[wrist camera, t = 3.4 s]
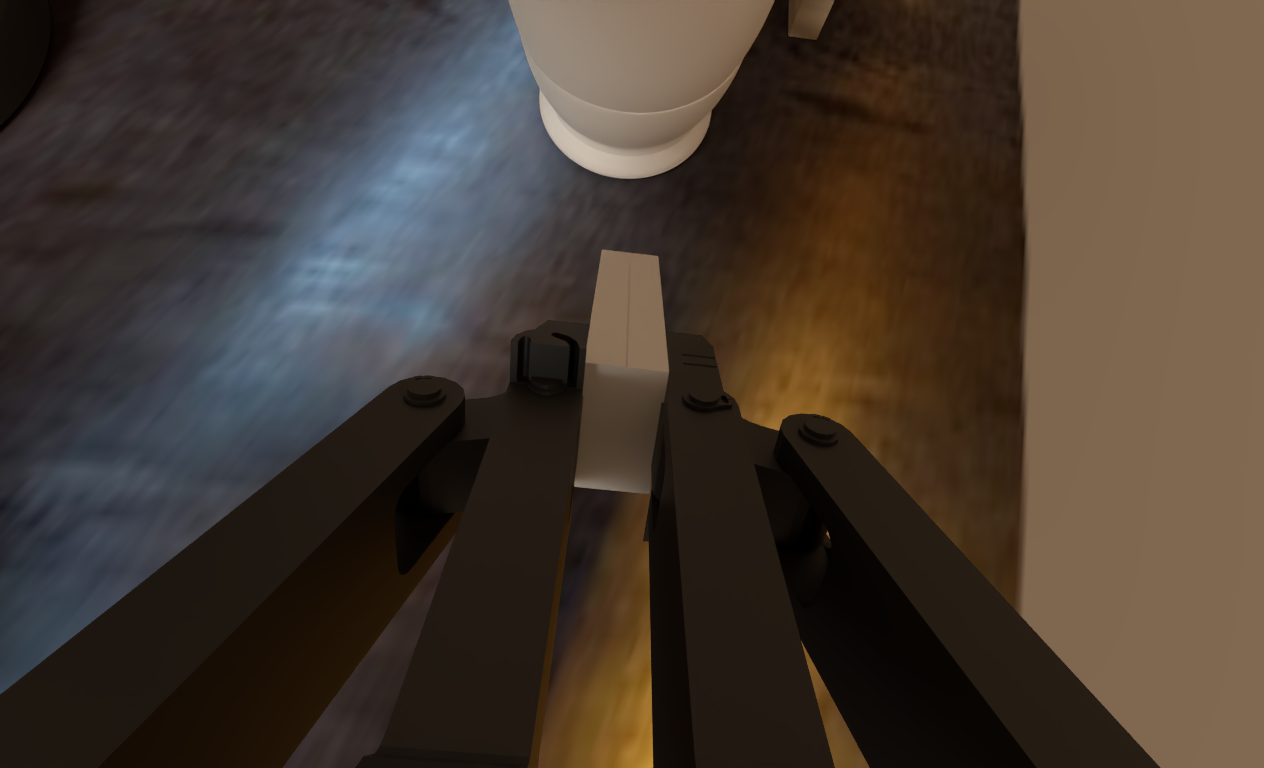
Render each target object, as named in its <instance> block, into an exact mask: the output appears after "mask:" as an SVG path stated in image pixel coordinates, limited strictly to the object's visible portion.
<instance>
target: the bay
mask: <svg viewBox="0 0 1264 768" xmlns="http://www.w3.org/2000/svg"><path fill="white" fill-rule="evenodd" d="M834 1H835V0H789V21H788V36H791V37H798V38H806V39H813V40H817V38H818V36H819V33H820V31H821V29H822V27H823V25H824V22H825V20H826V18H827V16H828V14H829V12H830V9H831V7H832V5H833V3H834Z"/></svg>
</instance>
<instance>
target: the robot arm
mask: <svg viewBox="0 0 1264 768" xmlns="http://www.w3.org/2000/svg"><path fill="white" fill-rule="evenodd" d="M50 29H51V22H50V12H49V6H48V2H47V0H0V126H1V125H2V124H3V123H4V122H5V121H6V120H7V119H8V118H9V117H10V115H11V114H12V113H13V112H14V111H15V110H16V109H17V108H18V106H19V105H20V104H21V102H22V101H23V100H24V99H25V97H26V96H27V94H28V93H29V91H30V90H31V88H32V86H33V85H34V83H35V81H36V79H37V78H38V75H39V73H40V71H41V69H42V66H43V64H44V61H45V58H46V54H47V50H48V47H49V40H50ZM651 478H652V491H651V497H650V503H649V509H648V515H647V521H646V527H645V533H644V539H643V541H649V573H650V623H651V673H652V723H653V768H835V767H834V763H833V759H832V755H831V752H830V748H829V744H828V740H827V737H826V733H825V729H824V725H823V722H822V718H821V714H820V710H819V707H818V703H817V699H816V695H815V692H814V688H813V684H812V680H811V677H810V673H809V669H808V665H807V661H806V658H805V654H804V650H803V646H802V643H803V645H804V647H805V648H806V650H807V652H808V654H809V656H810V658H811V660H812V661H813V663H814V665H815V667H816V669H817V671H818V673H819V674H820V676H821V678H822V680H823V682H824V684H825V685H826V687H827V689H828V691H829V693H830V695H831V697H832V698H833V700H834V702H835V704H836V706H837V708H838V710H839V711H840V713H841V715H842V717H843V719H844V721H845V722H846V724H847V726H848V728H849V730H850V732H851V734H852V735H853V737H854V739H855V741H856V743H857V745H858V747H859V748H860V750H861V752H862V754H863V756H864V758H865V760H866V761H867V763H868V765H869V767H870V768H1160V767H1159V766H1158V765H1157V764H1156V763H1155V761H1154V760H1153V759H1152V758H1151V757H1150V756H1149V755H1148V754H1147V753H1146V752H1145V751H1144V749H1143V748H1142V747H1141V746H1140V745H1139V744H1138V743H1137V742H1136V741H1135V740H1134V739H1133V738H1132V737H1131V735H1130V734H1129V733H1128V732H1127V731H1126V730H1125V729H1124V728H1123V727H1122V726H1121V725H1120V724H1119V722H1118V721H1117V720H1116V719H1115V718H1114V717H1113V716H1112V715H1111V714H1110V713H1109V711H1108V710H1107V709H1106V708H1105V707H1104V706H1103V705H1102V704H1101V703H1100V702H1099V701H1098V700H1097V698H1096V697H1095V696H1094V695H1093V694H1092V693H1091V692H1090V691H1089V690H1088V689H1087V688H1086V687H1085V685H1084V684H1083V683H1082V682H1081V681H1080V680H1079V679H1078V678H1077V677H1076V676H1075V675H1074V674H1073V672H1072V671H1071V670H1070V669H1069V668H1068V667H1067V666H1066V665H1065V664H1064V663H1063V662H1062V661H1061V659H1060V658H1059V657H1058V656H1057V655H1056V654H1055V653H1054V652H1053V651H1052V650H1051V649H1050V647H1049V646H1048V645H1047V644H1046V643H1045V642H1044V641H1043V640H1042V639H1041V638H1040V637H1039V636H1038V634H1037V633H1036V632H1035V631H1034V630H1033V629H1032V628H1031V627H1030V626H1029V625H1028V624H1027V622H1026V621H1025V620H1024V619H1023V618H1022V617H1021V616H1020V615H1019V614H1018V613H1017V612H1016V611H1015V609H1014V608H1013V607H1012V606H1011V605H1010V604H1009V603H1008V602H1007V601H1006V600H1005V599H1004V598H1003V596H1002V595H1001V594H1000V593H999V592H998V591H997V590H996V589H995V588H994V587H993V586H992V584H991V583H990V582H989V581H988V580H987V579H986V578H985V577H984V576H983V575H982V574H981V573H980V571H979V570H978V569H977V568H976V567H975V566H974V565H973V564H972V563H971V562H970V561H969V560H968V558H967V557H966V556H965V555H964V554H963V553H962V552H961V551H960V550H959V549H958V548H957V546H956V545H955V544H954V543H953V542H952V541H951V540H950V539H949V538H948V537H947V536H946V535H945V533H944V532H943V531H942V530H941V529H940V528H939V527H938V526H937V525H936V524H935V523H934V522H933V520H932V519H931V518H930V517H929V516H928V515H927V514H926V513H925V512H924V511H923V510H922V509H921V507H920V506H919V505H918V504H917V503H916V502H915V501H914V500H913V499H912V498H911V497H910V495H909V494H908V493H907V492H906V491H905V490H904V489H903V488H902V487H901V486H900V485H899V484H898V482H897V481H896V480H895V479H894V478H893V477H892V476H891V475H890V474H889V473H888V472H887V471H886V469H885V468H884V467H883V466H882V465H881V464H880V463H879V462H878V461H877V460H876V459H875V458H874V456H873V455H872V454H871V453H870V452H869V451H868V450H867V449H866V448H865V447H864V446H863V444H862V443H861V442H860V441H859V440H858V439H857V438H856V437H855V436H854V435H853V434H852V433H851V432H850V431H849V430H848V429H846V428H845V427H844V426H843V425H841V424H839V423H837V422H835V421H833V420H831V419H830V418H828V417H824V416H822V417H821V415H816V414H795V415H790V416H788V417H787V418H785V419H783V420H782V424H781V427H780V430H779V431H777V430H774V429H770V428H767V427H763V426H760V425H757V424H754V423H751V422H749V421H747V420H745V419H743V418H742V417H741V413H740V410H739V406H738V404H737V403H736V401H735V399H734V398H733V397H731V396H730V395H729V394H727V393H726V392H724V391H723V387H722V383H721V379H720V375H719V370H718V368H717V362H716V359H715V354H714V350H713V346H712V345H711V344H710V343H709V342H708V341H707V340H706V339H705V338H704V337H702V336H701V335H692V334H683V333H674V332H666V331H665V323H664V313H663V302H662V292H661V281H660V271H659V260H658V256H653V255H644V254H636V253H627V252H619V251H610V250H602V252H601V258H600V265H599V271H598V277H597V284H596V290H595V296H594V303H593V309H592V315H591V322H590V325H588V324H579V323H570V322H561V321H552V320H548V321H546V322H545V323H543V324H542V325H540V326H539V327H537V328H536V329H535V330H528V331H524V332H522V333H520V334H517V335H516V336H515V337H514V338H513V339H512V340H511V358H510V383H509V386H508V388H507V391H506V392H505V393H503V394H501V395H497V396H493V397H488V398H481V399H467V400H465V394H464V390H463V388H462V387H461V386H460V385H458V384H457V383H456V382H454V381H451V380H448V379H446V378H441V377H434V376H415V377H412V378H408V379H404V380H401V381H399V382H397V383H395V384H393V385H391V386H389V387H388V388H387V389H386V390H384V391H383V392H382V393H381V394H379V395H378V396H377V397H376V398H374V399H373V400H372V401H371V402H369V403H368V404H367V405H365V406H364V407H363V408H362V409H360V410H359V411H358V412H357V413H355V414H354V415H353V416H352V417H350V418H349V419H348V420H347V421H345V422H344V423H343V424H341V425H340V426H339V427H338V428H336V429H335V430H334V431H333V432H331V433H330V434H329V435H328V436H326V437H325V438H324V439H323V440H321V441H320V442H319V443H317V444H316V445H315V446H314V447H312V448H311V449H310V450H309V451H307V452H306V453H305V454H304V455H302V456H301V457H300V458H299V459H297V460H296V461H295V462H294V463H292V464H291V465H290V466H288V467H287V468H286V469H285V470H283V471H282V472H281V473H280V474H278V475H277V476H276V477H275V478H273V479H272V480H271V481H270V482H268V483H267V484H266V485H264V486H263V487H262V488H261V489H259V490H258V491H257V492H256V493H254V494H253V495H252V496H251V497H249V498H248V499H247V500H246V501H244V502H243V503H242V504H240V505H239V506H238V507H237V508H235V509H234V510H233V511H232V512H230V513H229V514H228V515H227V516H225V517H224V518H223V519H222V520H220V521H219V522H218V523H216V524H215V525H214V526H213V527H211V528H210V529H209V530H208V531H206V532H205V533H204V534H203V535H201V536H200V537H199V538H198V539H196V540H195V541H194V542H193V543H191V544H190V545H189V546H187V547H186V548H185V549H184V550H182V551H181V552H180V553H179V554H177V555H176V556H175V557H174V558H172V559H171V560H170V561H169V562H167V563H166V564H165V565H163V566H162V567H161V568H160V569H158V570H157V571H156V572H155V573H153V574H152V575H151V576H150V577H148V578H147V579H146V580H145V581H143V582H142V583H141V584H139V585H138V586H137V587H136V588H134V589H133V590H132V591H131V592H129V593H128V594H127V595H126V596H124V597H123V598H122V599H121V600H119V601H118V602H117V603H115V604H114V605H113V606H112V607H110V608H109V609H108V610H107V611H105V612H104V613H103V614H102V615H100V616H99V617H98V618H97V619H95V620H94V621H93V622H92V623H90V624H89V625H88V626H86V627H85V628H84V629H83V630H81V631H80V632H79V633H78V634H76V635H75V636H74V637H73V638H71V639H70V640H69V641H68V642H66V643H65V644H64V645H62V646H61V647H60V648H59V649H57V650H56V651H55V652H54V653H52V654H51V655H50V656H49V657H47V658H46V659H45V660H44V661H42V662H41V663H40V664H38V665H37V666H36V667H35V668H33V669H32V670H31V671H30V672H28V673H27V674H26V675H25V676H23V677H22V678H21V679H20V680H18V681H17V682H16V683H15V684H13V685H12V686H11V687H9V688H8V689H7V690H6V691H4V692H3V693H2V694H1V695H0V768H282V767H283V766H284V765H285V763H286V762H287V761H288V759H289V758H290V756H291V755H292V754H293V752H294V751H295V750H296V748H297V747H298V746H299V744H300V743H301V742H302V740H303V739H304V738H305V736H306V735H307V733H308V732H309V731H310V729H311V728H312V727H313V725H314V724H315V723H316V721H317V720H318V719H319V717H320V716H321V715H322V713H323V712H324V710H325V709H326V708H327V706H328V705H329V704H330V702H331V701H332V700H333V698H334V697H335V696H336V694H337V693H338V692H339V690H340V689H341V687H342V686H343V685H344V683H345V682H346V681H347V679H348V678H349V677H350V675H351V674H352V673H353V671H354V670H355V668H356V667H357V666H358V664H359V663H360V662H361V660H362V659H363V658H364V656H365V655H366V654H367V652H368V651H369V650H370V648H371V647H372V645H373V644H374V643H375V641H376V640H377V639H378V637H379V636H380V635H381V633H382V632H383V631H384V629H385V628H386V627H387V625H388V624H389V622H390V621H391V620H392V618H393V617H394V616H395V614H396V613H397V612H398V610H399V609H400V608H401V606H402V605H403V604H404V602H405V601H406V599H407V598H408V597H409V595H410V594H411V593H412V591H413V590H414V589H415V587H416V586H417V585H418V583H419V582H420V581H421V579H422V578H423V576H424V575H425V574H426V572H427V571H428V570H429V568H430V567H431V566H432V564H433V563H434V562H435V560H436V559H437V557H438V556H439V555H440V553H441V552H442V551H443V549H444V548H445V547H446V545H447V544H448V543H449V541H450V540H451V539H452V537H453V536H454V534H455V533H456V535H455V538H454V541H453V544H452V547H451V549H450V552H449V555H448V558H447V561H446V563H445V566H444V569H443V572H442V575H441V578H440V580H439V583H438V586H437V589H436V592H435V595H434V597H433V600H432V603H431V606H430V609H429V611H428V614H427V617H426V620H425V623H424V626H423V628H422V631H421V634H420V637H419V640H418V643H417V645H416V648H415V651H414V654H413V657H412V659H411V662H410V665H409V668H408V671H407V674H406V676H405V679H404V682H403V685H402V688H401V691H400V693H399V696H398V699H397V702H396V705H395V707H394V710H393V713H392V716H391V719H390V722H389V724H388V727H387V730H386V733H385V735H384V738H383V740H382V742H381V745H380V747H379V748H378V750H377V751H376V753H375V754H372V755H368V756H364V757H363V758H362V759H361V761H360V762H359V764H358V765H357V766H356V768H538V761H539V753H540V745H541V738H542V730H543V723H544V715H545V707H546V700H547V692H548V685H549V677H550V669H551V662H552V654H553V646H554V639H555V631H556V624H557V616H558V608H559V601H560V593H561V586H562V578H563V570H564V563H565V555H566V548H567V540H568V532H569V525H570V517H571V509H572V501H573V491H574V487H583V488H593V489H604V490H614V491H624V492H634V493H644V494H649V490H650V484H651ZM827 531H828V533H829V536H830V539H829V537H828V536H827V534H826V533H827ZM801 641H802V643H801Z"/></svg>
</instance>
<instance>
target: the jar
mask: <svg viewBox="0 0 1264 768" xmlns="http://www.w3.org/2000/svg"><path fill="white" fill-rule="evenodd" d="M774 1H775V0H509V3H510V7H511V10H512V13H513V16H514V19H515V22H516V25H517V28H518V30H519V33H520V37H521V41H522V45H523V48H524V51H525V55H526V58H527V61H528V63H529V66H530V69H531V71H532V73H533V76H534V78H535V80H536V82H537V84H538V86H539V88H540V94H539V104H540V111H541V116H542V120H543V123H544V125H545V128H546V130H547V132H548V134H549V135H550V137H551V139H552V140H553V141H554V143H555V144H556V145H557V147H558V148H559V149H560V150H561V151H562V152H563V153H564V154H565V155H566V156H567V157H569V158H570V159H571V160H573V161H574V162H575V163H577V164H578V165H580V166H582V167H584V168H586V169H588V170H590V171H592V172H595V173H597V174H600V175H604V176H608V177H613V178H621V179H638V178H646V177H651V176H655V175H658V174H661V173H664V172H666V171H668V170H670V169H672V168H674V167H676V166H678V165H679V164H681V163H682V162H683V161H685V160H686V159H687V158H688V157H689V156H690V155H691V154H692V153H693V152H694V151H695V150H696V149H697V147H698V146H699V145H700V143H701V142H702V140H703V138H704V136H705V134H706V132H707V129H708V126H709V123H710V119H711V112H712V109H713V108H714V107H715V106H716V104H717V103H718V102H719V100H720V99H721V98H722V96H723V95H724V93H725V92H726V90H727V89H728V87H729V86H730V84H731V82H732V80H733V79H734V77H735V75H736V73H737V71H738V69H739V67H740V65H741V63H742V61H743V58H744V57H745V55H746V54H747V52H748V51H749V49H750V47H751V46H752V44H753V43H754V41H755V39H756V37H757V36H758V34H759V32H760V30H761V28H762V26H763V24H764V22H765V20H766V18H767V16H768V14H769V12H770V10H771V8H772V5H773V3H774Z"/></svg>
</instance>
